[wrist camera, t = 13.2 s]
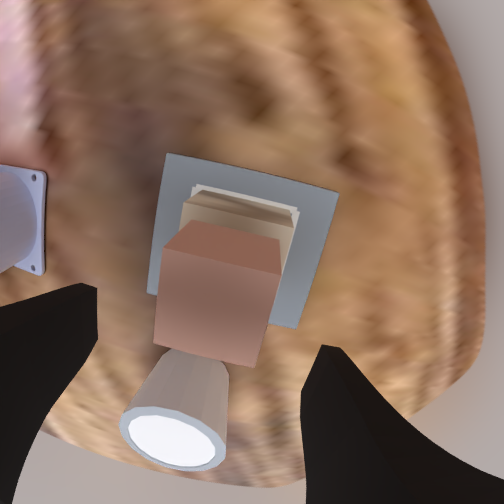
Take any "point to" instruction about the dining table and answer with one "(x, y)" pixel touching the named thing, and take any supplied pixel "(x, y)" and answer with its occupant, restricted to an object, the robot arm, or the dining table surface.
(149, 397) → the grey cylinder
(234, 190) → the base plate
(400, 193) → the dining table surface
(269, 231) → the base block
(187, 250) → the top block
